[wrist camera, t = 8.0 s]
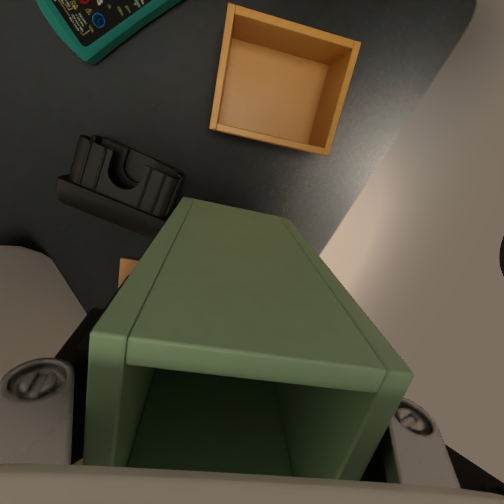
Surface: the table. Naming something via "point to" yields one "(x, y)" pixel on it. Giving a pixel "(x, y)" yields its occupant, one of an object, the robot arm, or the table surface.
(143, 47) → the table surface
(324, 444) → the sage tub
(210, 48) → the table surface
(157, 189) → the end cap
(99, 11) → the digital multimeter
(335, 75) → the ochre bin
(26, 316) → the alarm clock
